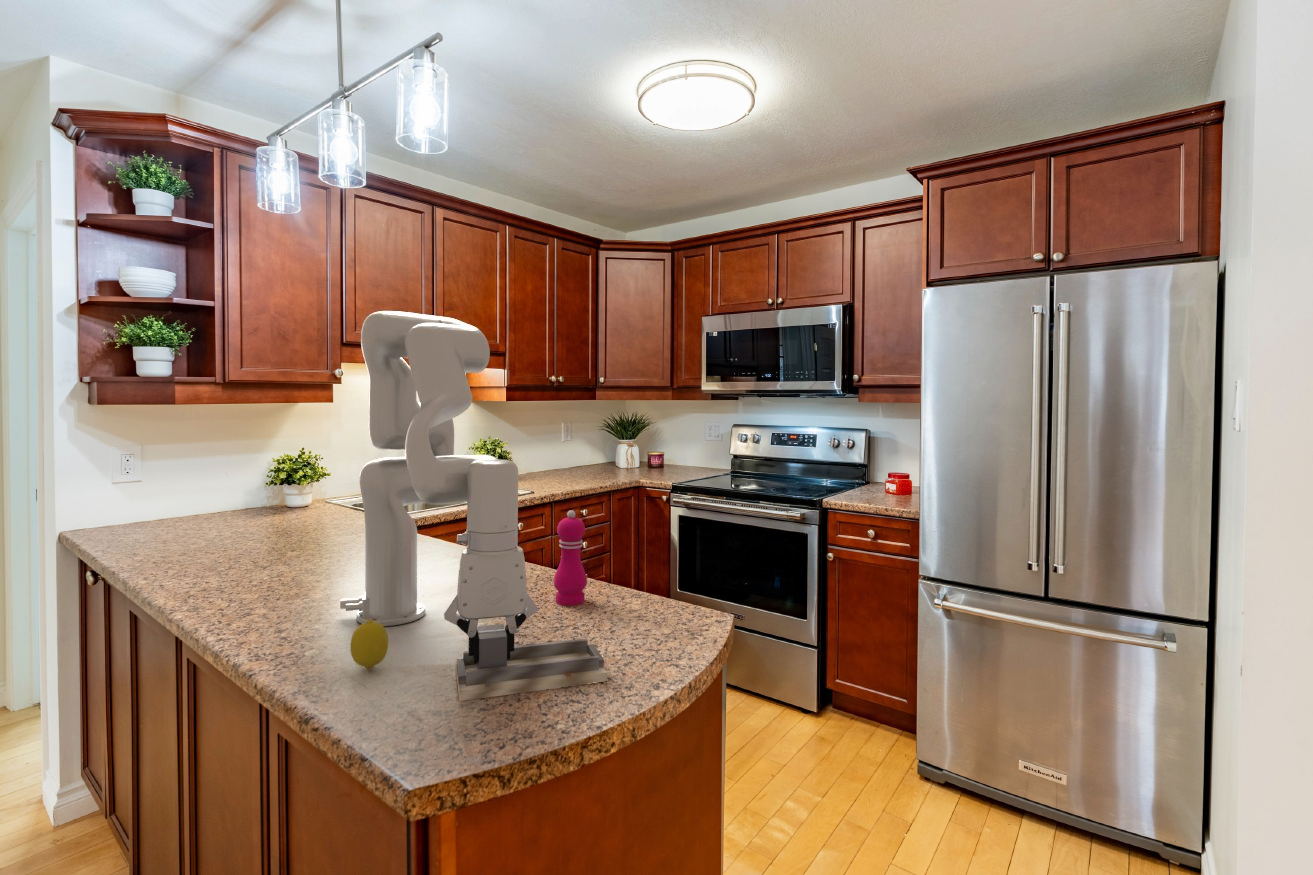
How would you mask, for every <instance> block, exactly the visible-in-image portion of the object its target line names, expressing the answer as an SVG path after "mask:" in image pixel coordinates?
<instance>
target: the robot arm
mask: <svg viewBox="0 0 1313 875" xmlns="http://www.w3.org/2000/svg"><path fill="white" fill-rule="evenodd" d="M361 326H362V327H361V333H360V345H361V352H362V355H363V358H364V359H363V360H364V362H365V366H366V369H367V373H368V379H369V394H368V395H369V397H368V398H369V401H368V405H369V406H368V432H369V438H370V442H371V444H372V446H373V447H375V448H376V449H378V450H380V451H388V452H390V451H392V452H393V451H404V456H398V457H397V456H394V457H393V456H392V457H382V458H381V457H380V458H378V459H374V460H371V461H368V462H367V463H366V464H364V466H363V467H362V469H361V470H360V474H359V488H360V494H361V499H362V504H363V514H364V541H365V542H364V547H365V548H364V557H365V558H364V560H365V562H364V566H365V568H364V569H365V571H364V576H365V578H364V580H365V581H364V582H365V584H364V585H365V586H364V587H365V588H364V589H365V590H364V594H363V595H359V596H358V598H340V602H339V604H340V605H339V609H340V610H345V612H350V611H357V610H358V611H357V613H356V621H357V622H358V623H360V625H361V624H363V623H365V622H367V621H368V620H372V621H374V622H377V623H379V624H381V625H382V626H383V627H390V626H397V625H404V624H409V623H411V622H414V621H417V620H418V619H421V618H422V617H424V615H425V614H426V607H425V605H424V604H422V603H421V602H420V603H419V602H418V527H417V524H416V521H415V520H414V519H413V517H412V516H411V515H410V514H409V513H408V512H407V510H406V509H405V507H406V506H410V505H417V504H418V505H419V504H427V505H432V506H433V505H434V506H435V505H447V504H456V503H467V504H466V506H467V508H466V509H467V512H466V516H467V518H466V531H464V533H462V534H461V533H460V534H457V535H456V544H462V545H464V546H466V548H463V549H462V552H461V556H460V561H459V570H458V577H457V594H456V595H455V597H454V598H453V600H452V601H451V603H450V604H449V606H448V607H447V608H446V610H445V612H444V613H443V617H444V620H445V621H447V622H449V623H451V624H453V625H455V626H457V627H458V628H459V629H460V630H461V631H463V632H464V633H465V634H466V635H467V637H468V650H467V651H468V652H469V656H473V660H474V663H478V662H479V636H478V632H477V626H479V620H484V619H495V618H497V619H498V618H505V621H506V624H505V627H504V629H505V632H506V635H507V660H508V659H510V652H513V651H514V646H515V634H516V633H517V631H518V629H519V628H520V627H521V626H522V625H523V623H524V622H526V621H527V620H528V618H530V617H531V616H533V615H534V614H536V613H537V612H538V611H539V608H538V606H537V605H536V603H535V602H534V600H533V599H532V597H531V596H530V594H529V593H528V588H527V570H526V562H525V560H526V558H525V555H524V550H523V548H522V547H521V546H518V540H519V538H518V536H519V535H518V534H519V531H518V530H519V520H518V519H519V518H518V517H519V468H518V465H517V464H516V463H515V462H514V461H512V460H509V459H500V458H497V457H496V456H493V455H491V454H469V455H468V454H460V455H459V454H457V455H455V425H454V418H456V417H459V416H461V414H463V413H465V411H467V410H469V408H470V407H471V405H472V403H473V393H472V390H471V387H470V384H469V381H468V378H467V375H466V374H478V373H481V372H483V371H484V370H485V369H486V368H488V367H487V366H488V365H489V362H490V357H491V356H490V355H491V353H490V352H491V350H490V345H489V342H488V339H487V338H486V336H485V334H484V333H483V332H482V330H480V329H479V327H476V326H473V325H471V324H468V323H466V322H463V321H461V320H458V319H455V318H452V317H446V316H441V315H440V316H438V315H430V314H423V313H422V314H421V313H415V312H409V311H408V312H406V311H395V310H394V311H393V310H382V311H376V312H373V313H371V314H369V315H368V316H367V317H366V318H365V319H364V321H363V323H362V325H361ZM403 358H404V359H403ZM405 359H407V360H408V363H409V364H408V363H407V361H405ZM417 397H418V400H419V402H418V400H417Z"/></svg>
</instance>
